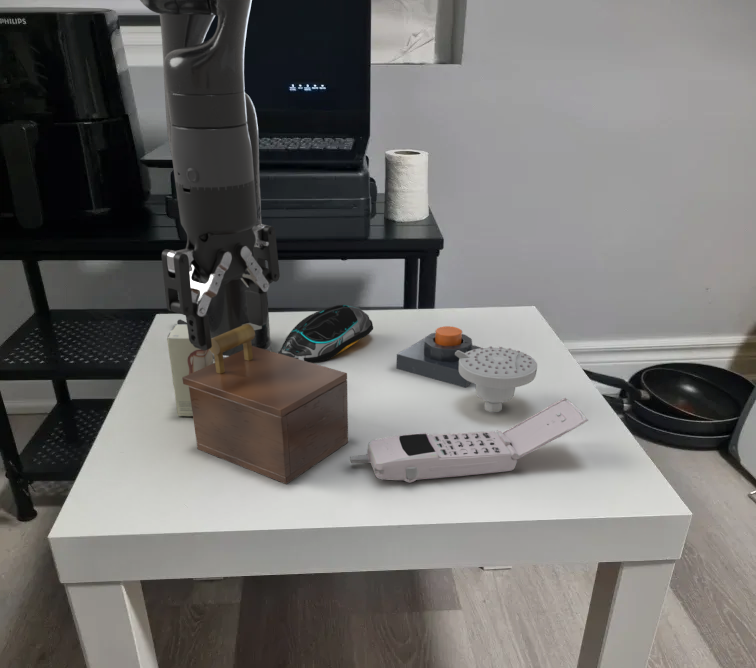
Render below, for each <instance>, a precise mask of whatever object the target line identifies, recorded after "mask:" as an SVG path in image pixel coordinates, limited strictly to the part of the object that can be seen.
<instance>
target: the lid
mask: <svg viewBox="0 0 756 668" xmlns="http://www.w3.org/2000/svg"><path fill="white" fill-rule="evenodd" d="M254 337H255V331H254V329H253V327H252V326H251V325H249V324H245V325H242V326H240V327H238V328H235V329H233V330H230V331H228V332H226V333H223V334H221V335H218V336H216V337H214V338H211V342H212V347H211V348H210V351H211V352H212V353H213V354H214V358H213V359H214V362H213V364H211V365H209V366H207V367H204V368H202V369H200V370H198V371H195V372H193V373H191V374H189V375H187V376H184V377H182V379H183V384H185V385H188V386H191V387H194V388H197V389H200V390H203V391H206V392H208V393H211V394H214V395H217V396H220V397H223V398H226V399H229V400H232V401H235V402H238V403H241V404H244V405H247V406H250V407H253V408H256V409H259V410H262V411H265V412H268V413H271V414H274V415H277V416H280V417H282V416H284V415H286V414H288V413H289V412H291V411H293V410H295V409H296V408H298V407H300V406H302V405H303V404H305V403H307V402H309V401H310V400H312V399H314V398H316V397H317V396H319V395H321V394H323V393H324V392H326V391H328V390H330V389H331V388H333V387H335V386H337V385H338V384H340V383H342V382H344V381H345V380H347V381H348V372H345V371H341V370H338V369H335V368H332V367H331V368H330V367H328V366H323V365H320V364H317V363H315V362H307V361H303V360H300V359H296V358H293V357H289V356H286V355H282V354H279V353H278V352H275V351H272V350H271V351H268V350H265V349H261V348H258V347H254V346H252V344H251V340H252V339H254ZM241 344H243V348H244V350H242V351H240V352H238V353H235V354H233V355H231V356H229V357H226V358H224V359H223V352H225V351H228V350H230V349H232V348H234V347H237V346H239V345H241Z"/></svg>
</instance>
